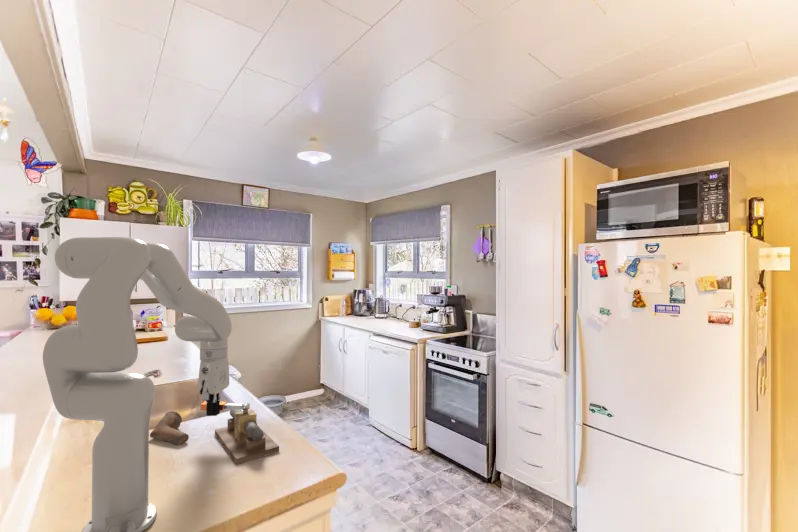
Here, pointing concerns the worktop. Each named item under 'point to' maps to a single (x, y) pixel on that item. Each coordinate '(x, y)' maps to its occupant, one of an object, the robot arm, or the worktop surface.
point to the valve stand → (245, 437)
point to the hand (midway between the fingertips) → (213, 414)
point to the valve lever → (227, 406)
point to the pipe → (170, 429)
